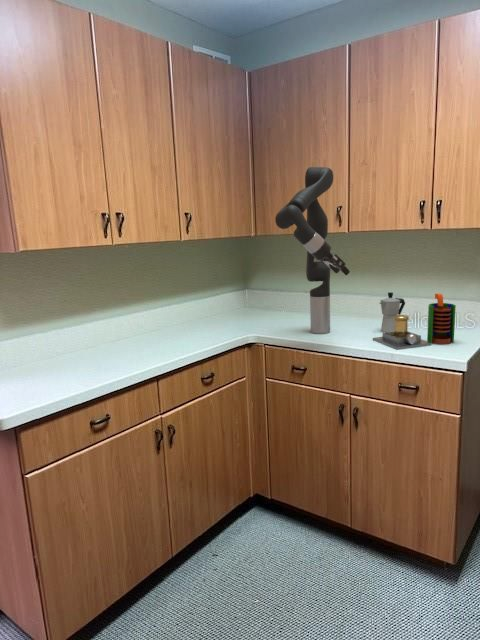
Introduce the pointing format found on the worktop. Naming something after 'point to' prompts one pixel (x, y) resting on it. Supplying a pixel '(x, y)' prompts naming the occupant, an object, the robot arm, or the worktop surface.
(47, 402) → the worktop surface
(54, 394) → the worktop surface
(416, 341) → the coupling base
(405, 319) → the gold tall waisted piece
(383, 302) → the coffee maker
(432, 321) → the motor
